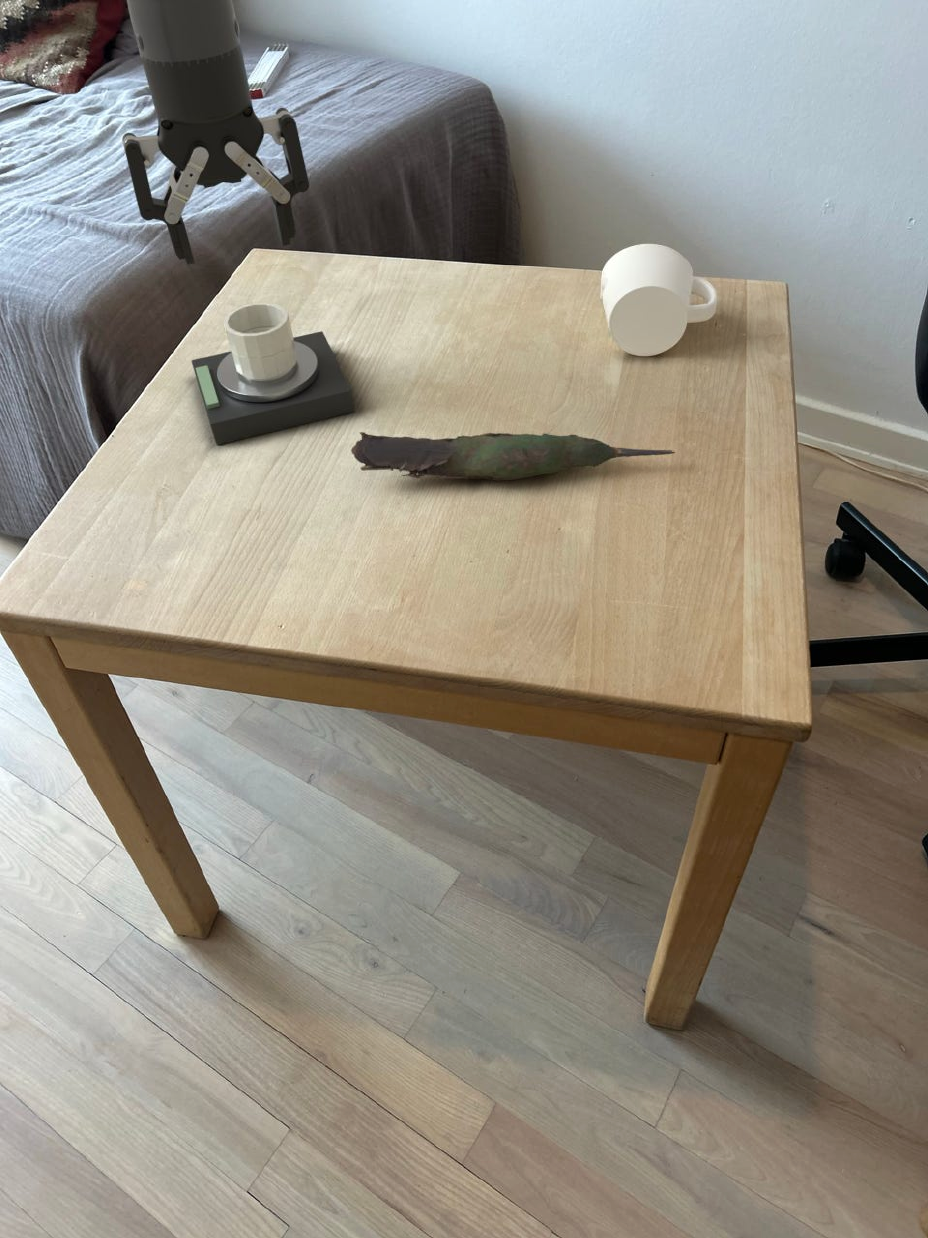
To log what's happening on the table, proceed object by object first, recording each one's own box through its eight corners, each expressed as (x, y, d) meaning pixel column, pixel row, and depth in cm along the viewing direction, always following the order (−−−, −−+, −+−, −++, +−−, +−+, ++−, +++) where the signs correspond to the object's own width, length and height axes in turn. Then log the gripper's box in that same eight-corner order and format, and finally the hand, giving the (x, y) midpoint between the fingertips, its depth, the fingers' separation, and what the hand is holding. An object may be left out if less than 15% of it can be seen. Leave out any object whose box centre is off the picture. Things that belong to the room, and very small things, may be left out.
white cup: (242, 389, 85) (230, 341, 81) (231, 357, 89) (218, 309, 85) (303, 375, 86) (294, 327, 82) (290, 344, 90) (280, 296, 86)
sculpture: (358, 462, 83) (351, 418, 79) (667, 449, 82) (674, 404, 78) (355, 496, 79) (348, 451, 76) (676, 482, 79) (684, 437, 75)
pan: (228, 411, 84) (226, 404, 84) (211, 358, 90) (209, 351, 90) (329, 388, 86) (328, 381, 86) (305, 337, 92) (304, 330, 92)
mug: (597, 355, 93) (603, 284, 87) (598, 309, 99) (604, 240, 93) (713, 358, 92) (727, 286, 86) (706, 312, 98) (719, 241, 92)
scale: (216, 445, 85) (208, 419, 83) (197, 380, 93) (189, 355, 90) (355, 411, 88) (351, 386, 86) (325, 351, 95) (321, 326, 93)
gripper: (271, 15, 70) (305, 220, 82) (88, 40, 67) (151, 249, 79) (292, 40, 65) (325, 254, 77) (96, 69, 62) (162, 286, 74)
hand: (237, 251), depth 78 cm, fingers open, 8 cm apart
